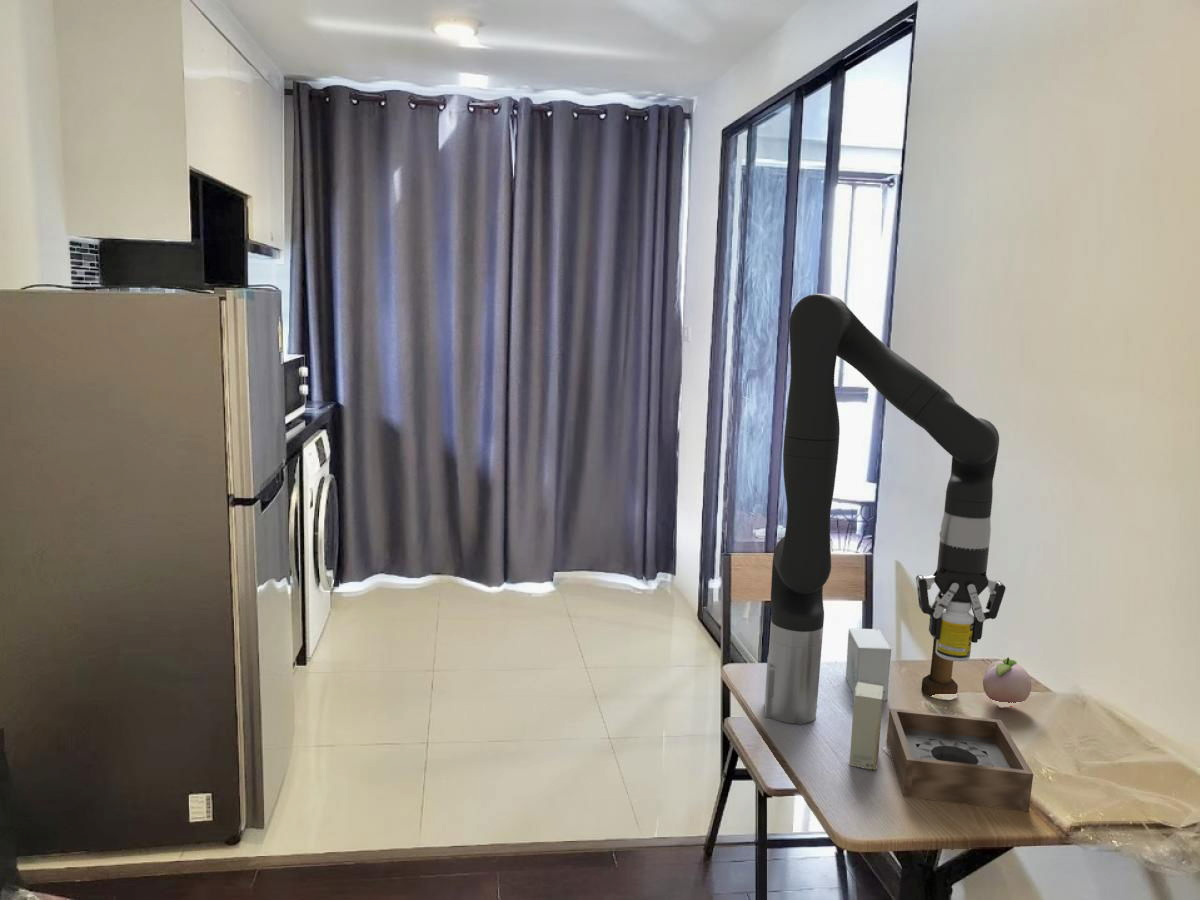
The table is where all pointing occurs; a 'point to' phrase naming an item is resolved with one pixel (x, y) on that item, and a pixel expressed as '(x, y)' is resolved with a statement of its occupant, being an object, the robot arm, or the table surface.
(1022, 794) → the bore box
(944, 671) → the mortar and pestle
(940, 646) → the supplement bottle
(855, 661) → the skincare box
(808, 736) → the table surface
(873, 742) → the skincare box
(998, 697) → the decorative fruit
